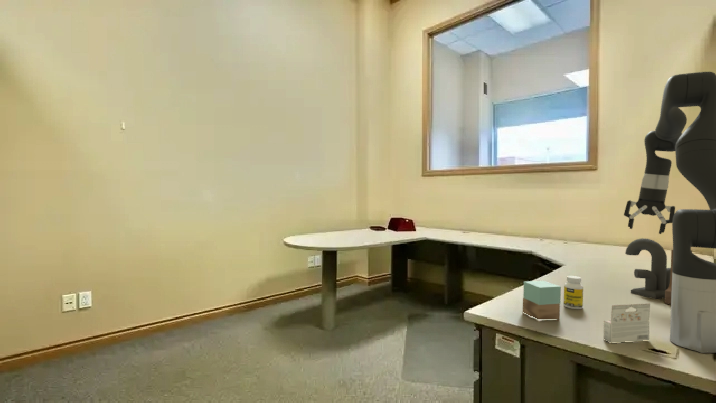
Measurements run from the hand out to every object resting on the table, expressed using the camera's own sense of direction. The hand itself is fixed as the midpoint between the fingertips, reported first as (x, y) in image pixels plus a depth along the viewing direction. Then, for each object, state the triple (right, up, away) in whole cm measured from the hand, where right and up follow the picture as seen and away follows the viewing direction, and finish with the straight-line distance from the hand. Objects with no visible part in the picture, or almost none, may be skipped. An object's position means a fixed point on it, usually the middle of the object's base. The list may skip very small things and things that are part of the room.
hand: (645, 231), depth 135 cm
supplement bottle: (-36, -24, -15) cm, 45 cm away
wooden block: (+3, -24, -10) cm, 26 cm away
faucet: (+4, -23, +5) cm, 24 cm away
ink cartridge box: (-38, -24, -42) cm, 62 cm away
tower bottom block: (-51, -24, -25) cm, 62 cm away
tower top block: (-51, -19, -25) cm, 60 cm away
